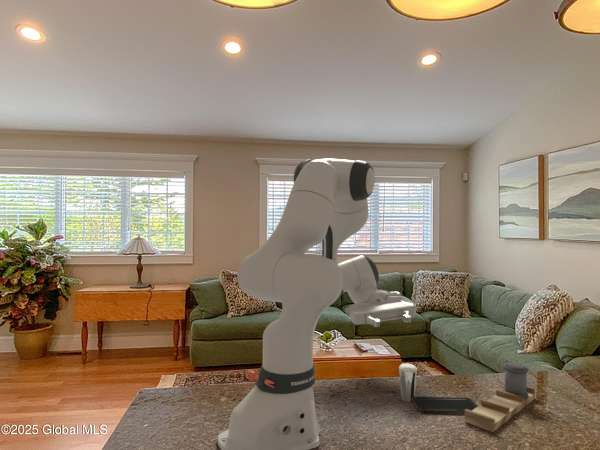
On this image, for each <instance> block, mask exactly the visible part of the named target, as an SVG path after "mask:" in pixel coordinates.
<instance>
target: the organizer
mask: <svg viewBox="0 0 600 450" xmlns="http://www.w3.org/2000/svg"><path fill="white" fill-rule="evenodd" d="M526 391H527V392H528V397H527V398H524V397H522V396H519V395H515V394H512V393H509V392H505V391H503V389H498V388H496V389H495V395H493V396H491V397H490V398H488V399H485V398H481V399H480V405H477V406H478V407H476V408H475V409H473V410H472V411H471V410H468V409H465V414H464V423H468V424H469V425H472V426H476V427H477V428H480V429H483V430H486V431H489V432H491V433H493V432H495V431H496V430H498V429H499V428H500V427H502V425H504V424H505V423H507V421H509V420H510V419H511V418H513V417H514V416H515V415H517V414H518V413H519V412H520V411H521V410H522V409H524V408H525V407H527V406H528V405H529V404H530V403H532V402H533V401H534V400H535V399H536V388H535V387H531V386H528V385H527V390H526Z"/></svg>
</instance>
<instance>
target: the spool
mask: <svg viewBox="0 0 600 450" xmlns="http://www.w3.org/2000/svg"><path fill="white" fill-rule="evenodd" d="M502 365H503V366H502V368H503V370H504V388H503V389H502V390H503V391H505V392H509V393H512V394H515V395H519V396H522V397H524V398H527V397H528V392H527V391H526V390H527V386H528V385H527V383H528V382H527V376H528V375H527V374H528V372H529V368H528V366H525V365H523V364H519V363H511V362H508V363H507V362H505V363H504V364H502Z"/></svg>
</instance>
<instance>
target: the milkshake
mask: <svg viewBox="0 0 600 450" xmlns="http://www.w3.org/2000/svg"><path fill="white" fill-rule="evenodd" d="M420 364H421V361H419V362H418V364H417V367H416V366H415V365H414V364H411V363H407V362H406V363H401V364H400V365H399V367H398V374H399V383H400V385H399V386H400V397H401V400H402V401H404V402H408V403H411V402H412V403H413V399H414V397H416V383H417V374H418V373H417V372H418V368H419V366H420Z"/></svg>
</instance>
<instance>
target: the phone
mask: <svg viewBox="0 0 600 450" xmlns="http://www.w3.org/2000/svg"><path fill="white" fill-rule="evenodd" d="M412 403H413V405H414V407H415V408H416V411H417V412H418V413H420V414H423V415H424V414H425V415H426V414H427V415H429V414H430V415H433V414H434V415H465V409H468V410H471V411H472V410H473V409H475V408H476V407H478V406H479V405H477V404H476V403H475V402H474V400H473V399H472V398H468V397H444V396H443V397H439V396H438V397H437V396H434V397H432V396H428V397H427V396H415V397H414V399H413V401H412Z"/></svg>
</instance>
